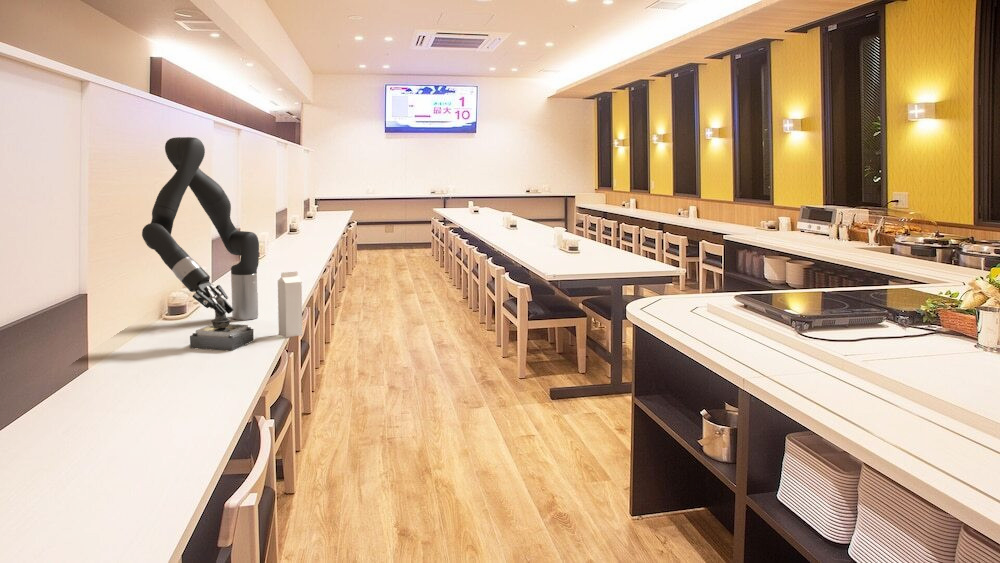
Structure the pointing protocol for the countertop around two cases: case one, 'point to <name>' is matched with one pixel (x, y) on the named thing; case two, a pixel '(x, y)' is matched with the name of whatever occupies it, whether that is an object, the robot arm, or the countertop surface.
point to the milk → (290, 304)
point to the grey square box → (222, 337)
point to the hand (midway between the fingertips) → (227, 312)
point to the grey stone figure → (221, 317)
